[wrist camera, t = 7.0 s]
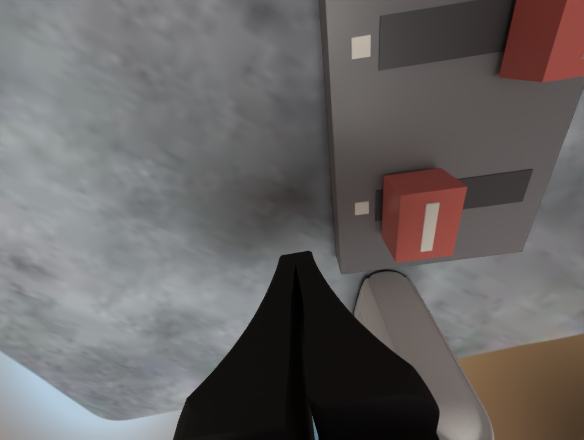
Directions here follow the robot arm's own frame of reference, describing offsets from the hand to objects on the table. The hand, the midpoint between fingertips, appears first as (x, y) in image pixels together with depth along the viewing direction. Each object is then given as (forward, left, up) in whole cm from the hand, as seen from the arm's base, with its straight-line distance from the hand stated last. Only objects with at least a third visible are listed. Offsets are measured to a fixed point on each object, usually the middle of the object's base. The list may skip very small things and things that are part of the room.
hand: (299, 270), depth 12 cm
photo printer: (-6, +12, -7) cm, 15 cm away
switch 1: (-7, 0, -4) cm, 8 cm away
